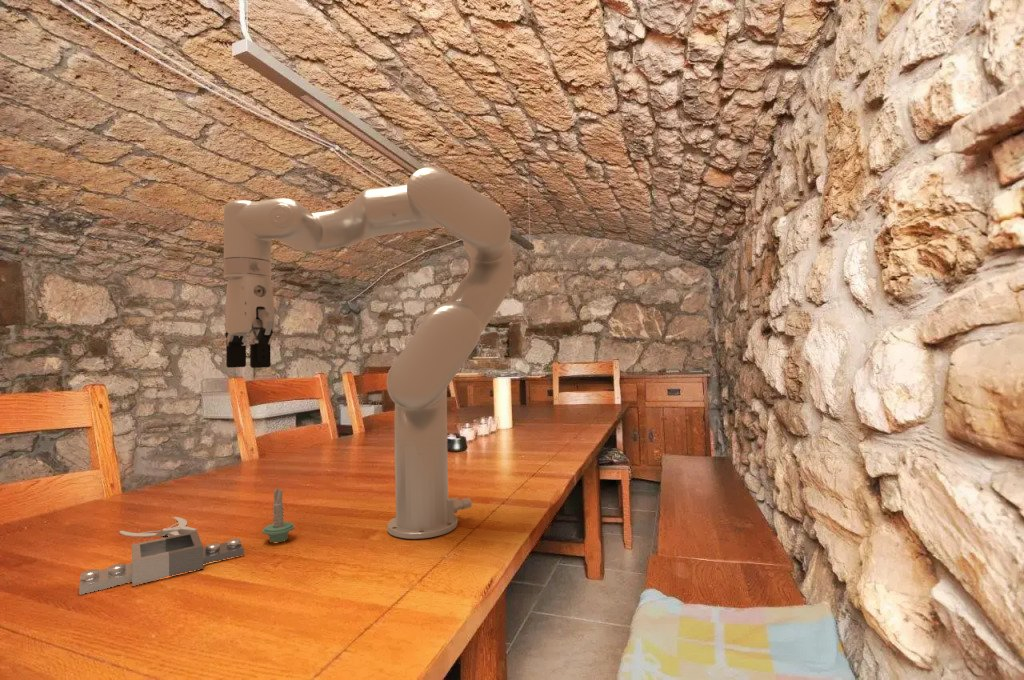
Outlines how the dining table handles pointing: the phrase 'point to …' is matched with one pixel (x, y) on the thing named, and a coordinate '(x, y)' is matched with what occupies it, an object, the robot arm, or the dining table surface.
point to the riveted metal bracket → (160, 561)
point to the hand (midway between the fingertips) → (247, 367)
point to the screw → (278, 521)
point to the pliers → (165, 530)
